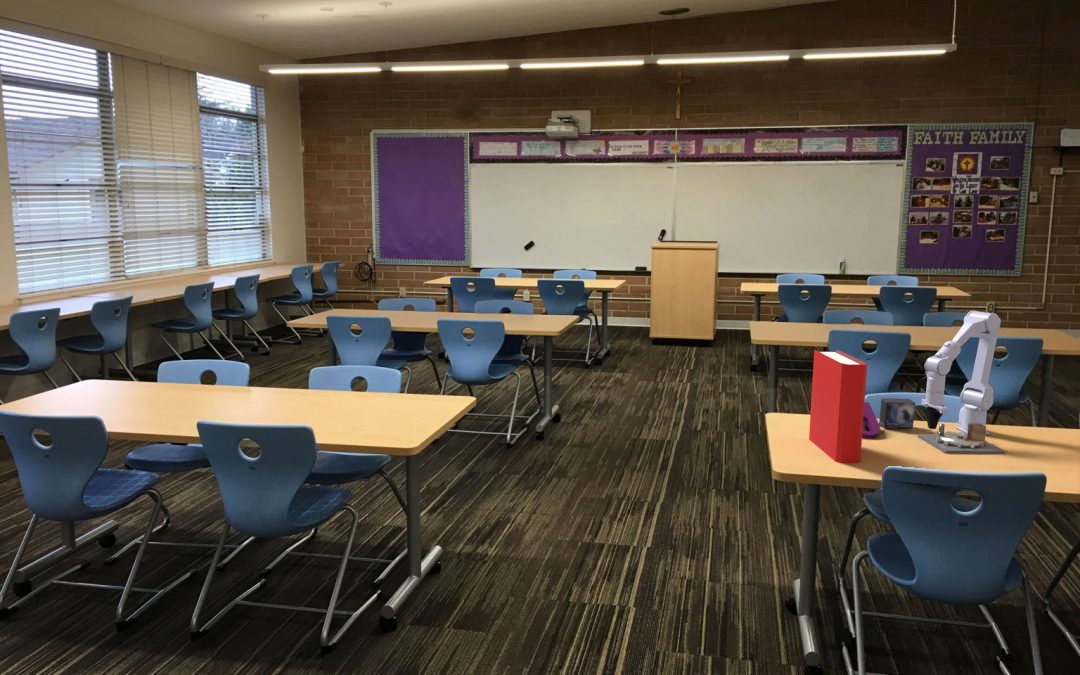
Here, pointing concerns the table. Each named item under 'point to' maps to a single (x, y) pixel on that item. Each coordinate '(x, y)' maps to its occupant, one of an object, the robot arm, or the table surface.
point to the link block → (976, 432)
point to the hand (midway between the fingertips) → (931, 428)
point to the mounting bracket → (870, 423)
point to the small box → (897, 413)
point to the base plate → (963, 450)
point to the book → (838, 405)
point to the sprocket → (956, 439)
